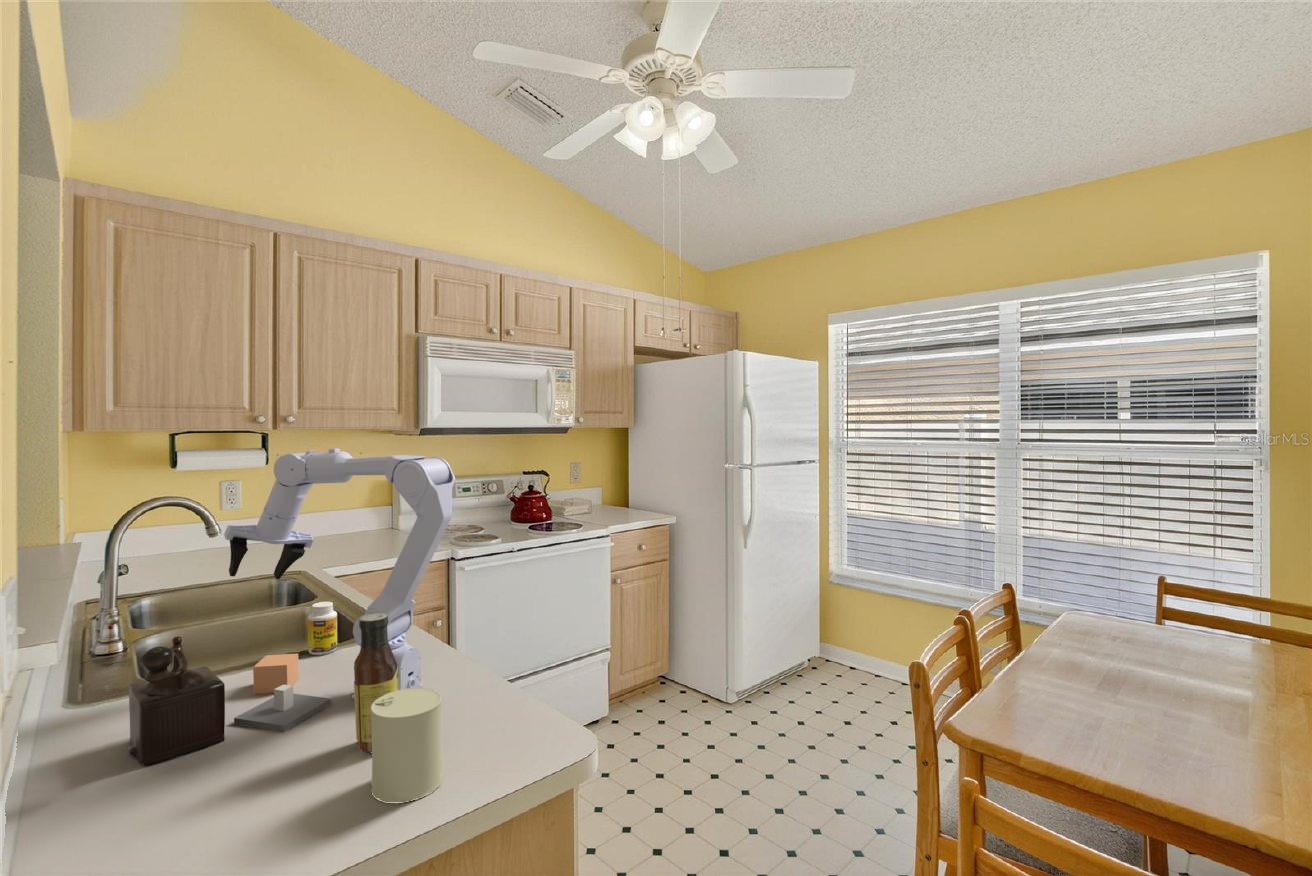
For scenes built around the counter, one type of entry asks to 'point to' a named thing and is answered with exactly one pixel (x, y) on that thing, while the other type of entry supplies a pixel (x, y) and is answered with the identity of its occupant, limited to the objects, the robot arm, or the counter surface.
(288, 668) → the orange cube
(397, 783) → the can
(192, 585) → the counter surface
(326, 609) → the supplement bottle
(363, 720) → the sauce bottle
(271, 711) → the shaft base
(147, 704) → the dark brown boxy piece
